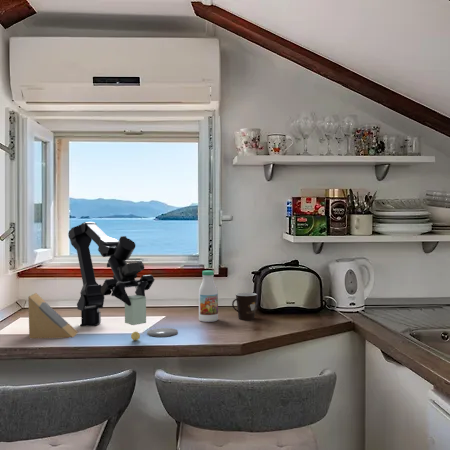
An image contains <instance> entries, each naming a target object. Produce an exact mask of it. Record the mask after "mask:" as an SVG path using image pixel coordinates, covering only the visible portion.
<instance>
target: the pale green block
mask: <svg viewBox="0 0 450 450" xmlns="http://www.w3.org/2000/svg"><path fill="white" fill-rule="evenodd" d="M128 297H129V299H130V302H131V306H128V305H127V304H126V303H124V323H125V324H127V325H131V326H136V325H143V324H146V323H147V296H146V295H145V296H141V295H136V294H133V295H132V294H131V295H128Z"/></svg>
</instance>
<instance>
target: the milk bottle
mask: <svg viewBox="0 0 450 450" xmlns="http://www.w3.org/2000/svg"><path fill="white" fill-rule="evenodd" d="M214 275H215V271H214V270H207V269H206V270H202V282H201V284H200V286H199V290H198V320H199V321H200V322H203V323H204V322H206V323H211V322H216V321H218V320H219V293H218V287H217V285H216V282H215V279H214V277H215V276H214Z"/></svg>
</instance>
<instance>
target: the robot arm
mask: <svg viewBox="0 0 450 450" xmlns="http://www.w3.org/2000/svg"><path fill="white" fill-rule="evenodd" d="M67 235H68V238H69V241H70V244H71V246H72V247H73V248H74V249H75V250H76V254H77V259H78V265H79V269H80V275H81V279H82V287H81V290H80V292H79V293H80V297H79V299H78V301H77V303H76V306H77V307H76V308H77V310H79V311H80V314H81V316H80V317H81V318H80V319H81V321H80V322H81V323H80V327H96V326H99V324H100V323H101V322H102V321H101V320H102V319H101V316H102V315H101V311H100V309H103V308H104V302H105V296H111V297H115V298H116V299H118V300H120V301H121V302H122V303H124V304H125V303H126V304H127V305H128V306H131V302H130V299H129V297H128V296H129V295H128V293H127V291H126V289H127V288H135V291H134V293H135V295H141V296H145V297H146V294H145V292H146V291H148V290H150V288H151V287H152V285H153V283H154V282H155V278H154V276H153V275H152V274H145V275H141V277H140V278H139V279H136V278H137V277H138V274H139V273H141V272H142V271H144V270H145V264H144V263H143V261H142V260H139V261H136V262H130V263H127V260H129V259H130V258H131V256H132V254H133V252H134V251H135V248H136V242H134V241H133V240H132V239H130V238H128V237H127V236H126V235H124V236H123V235H122V236H120V237H119V239H116V238H113V237H110V236H108V235H107V234H106V233H105V231H103V230H102V229H101V228H100V227H99V226H98V224H97V223H96V222H94V221H84V222H82V223H81V224H78V225H76V226H74V227H71V228H70V230H69V231H68V234H67ZM92 241H93V242H94V243H95V244H96V245H97V246H98V249H97V251H98V253H99V254H100V255H101V257H102V258H108V257H109V258H108V260H107V263H106V268H110V269H111V271H112V273H113V276H112V278H108V279H107V278H106V279H105V280H103V281H104V282H103V284H98V281H96V275H95V271H94V266H93V260H92V256H91V250H90V246H91V243H92Z"/></svg>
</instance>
